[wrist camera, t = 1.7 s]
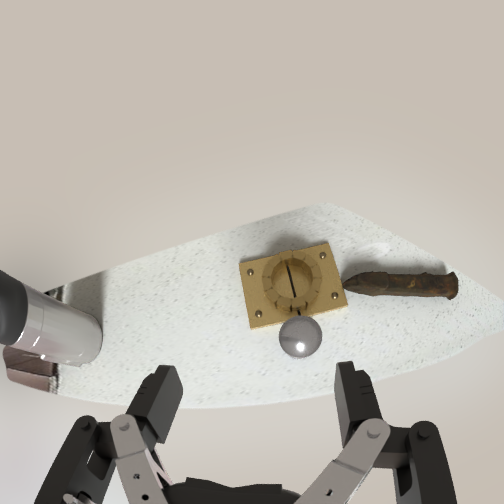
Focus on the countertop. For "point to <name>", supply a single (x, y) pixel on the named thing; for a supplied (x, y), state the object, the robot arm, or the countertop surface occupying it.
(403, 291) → the hand tool
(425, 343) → the countertop surface
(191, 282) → the countertop surface
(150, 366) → the countertop surface
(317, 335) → the hinge pin
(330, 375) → the countertop surface
